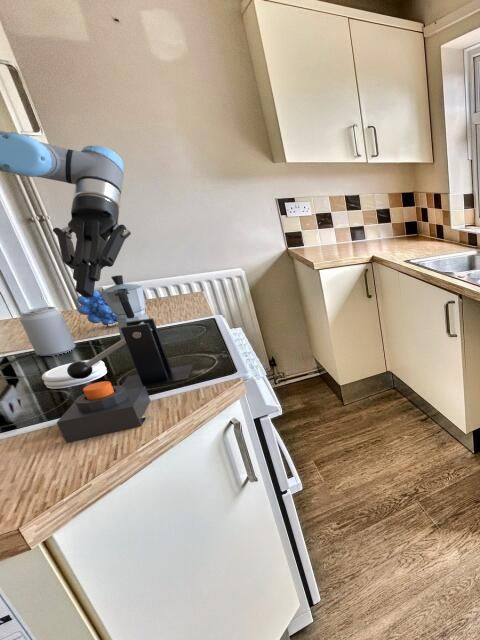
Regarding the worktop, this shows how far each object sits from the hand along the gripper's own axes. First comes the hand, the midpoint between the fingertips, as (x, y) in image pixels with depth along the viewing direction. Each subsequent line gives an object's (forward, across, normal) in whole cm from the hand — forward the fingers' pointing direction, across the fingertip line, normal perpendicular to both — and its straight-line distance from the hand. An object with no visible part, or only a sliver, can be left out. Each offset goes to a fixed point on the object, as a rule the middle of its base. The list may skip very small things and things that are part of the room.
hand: (84, 293), depth 87 cm
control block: (+30, -8, +2) cm, 31 cm away
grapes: (-21, +22, -49) cm, 58 cm away
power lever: (+13, -4, -5) cm, 15 cm away
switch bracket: (+18, -9, -11) cm, 22 cm away
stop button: (+26, -8, +5) cm, 28 cm away
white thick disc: (+13, +8, -16) cm, 22 cm away
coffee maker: (-9, +8, -37) cm, 39 cm away
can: (-6, +25, -34) cm, 43 cm away
